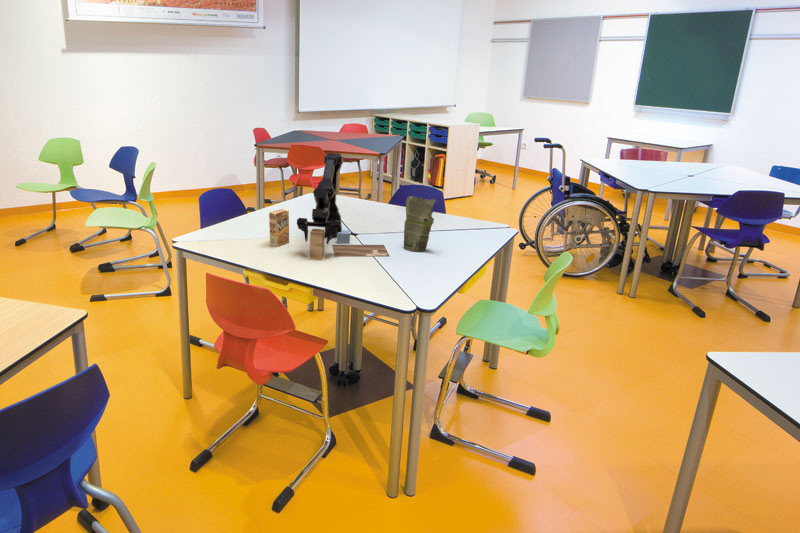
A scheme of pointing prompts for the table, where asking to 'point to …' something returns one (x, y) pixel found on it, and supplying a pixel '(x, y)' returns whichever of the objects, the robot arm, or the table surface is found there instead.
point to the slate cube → (343, 237)
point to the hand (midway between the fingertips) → (316, 242)
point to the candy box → (279, 227)
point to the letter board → (360, 251)
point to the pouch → (418, 223)
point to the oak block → (317, 244)
